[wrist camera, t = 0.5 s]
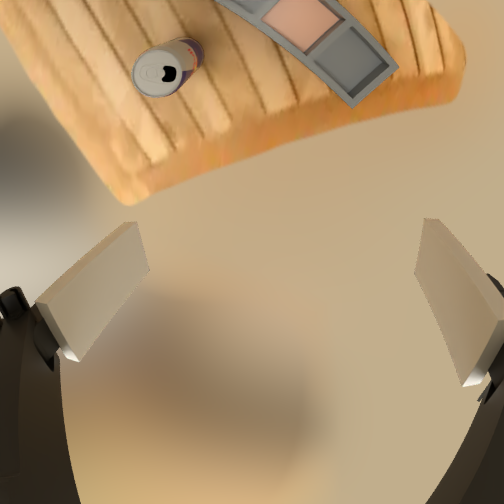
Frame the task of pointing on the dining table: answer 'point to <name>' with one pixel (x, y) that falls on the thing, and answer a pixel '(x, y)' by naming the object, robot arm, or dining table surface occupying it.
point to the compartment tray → (322, 42)
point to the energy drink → (166, 67)
